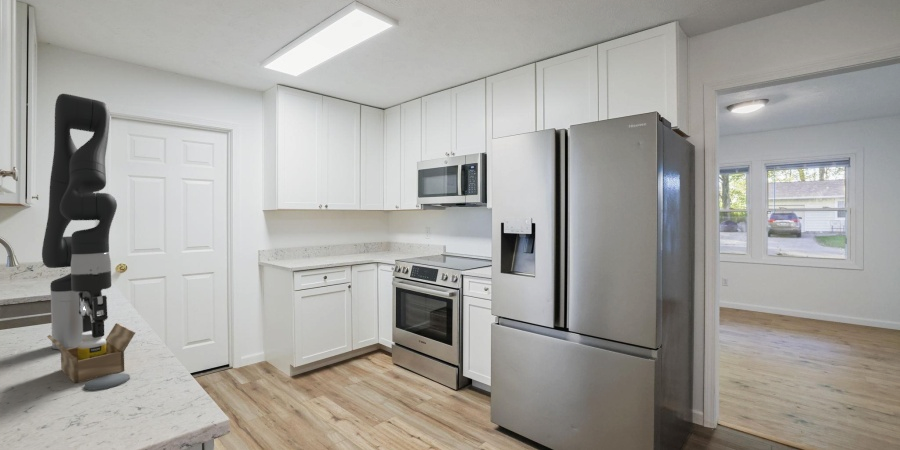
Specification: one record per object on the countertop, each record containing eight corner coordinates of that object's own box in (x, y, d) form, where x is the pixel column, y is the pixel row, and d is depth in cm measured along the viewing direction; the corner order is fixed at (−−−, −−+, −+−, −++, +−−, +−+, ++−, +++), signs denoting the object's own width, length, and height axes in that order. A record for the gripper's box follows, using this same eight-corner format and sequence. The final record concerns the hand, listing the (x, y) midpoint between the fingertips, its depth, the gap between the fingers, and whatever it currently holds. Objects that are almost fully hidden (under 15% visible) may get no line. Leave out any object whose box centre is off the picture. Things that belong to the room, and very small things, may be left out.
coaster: (80, 384, 91) (80, 381, 91) (123, 373, 98) (123, 370, 98) (90, 393, 87) (89, 390, 87) (134, 381, 93) (134, 378, 93)
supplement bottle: (89, 375, 97) (88, 336, 96) (72, 373, 98) (71, 334, 97) (112, 367, 102) (111, 329, 102) (95, 365, 103) (95, 328, 103)
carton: (47, 372, 98) (46, 335, 98) (119, 356, 110) (118, 322, 109) (60, 387, 90) (59, 346, 90) (136, 367, 101) (135, 331, 101)
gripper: (64, 271, 100) (66, 333, 101) (78, 274, 92) (81, 343, 92) (102, 267, 106) (104, 326, 107) (119, 271, 98) (121, 335, 98)
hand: (93, 334), depth 100 cm, fingers open, 8 cm apart
